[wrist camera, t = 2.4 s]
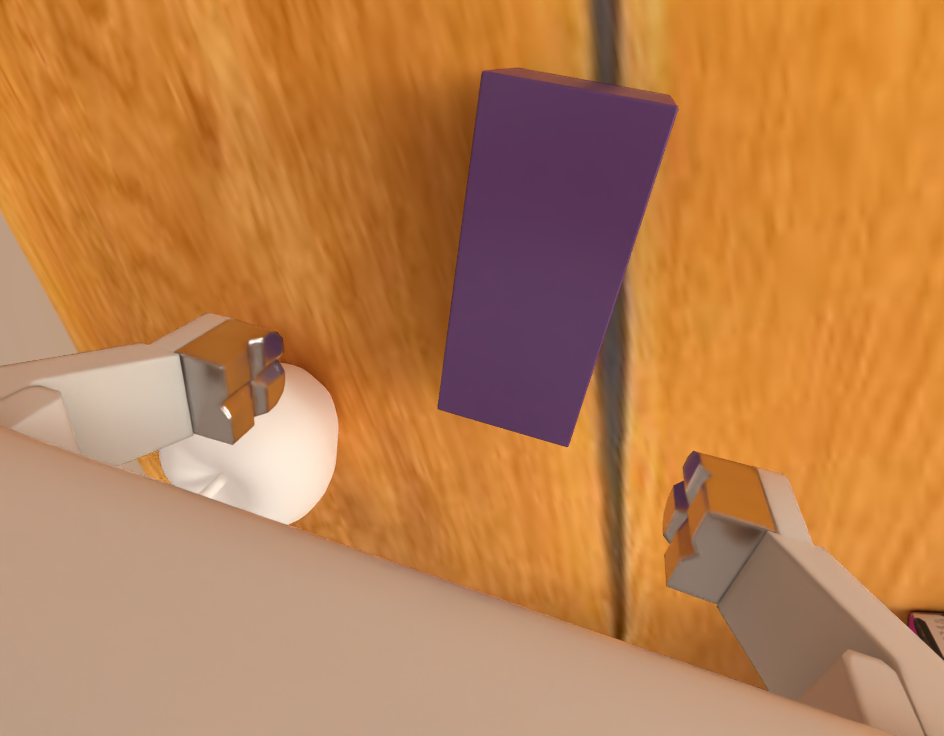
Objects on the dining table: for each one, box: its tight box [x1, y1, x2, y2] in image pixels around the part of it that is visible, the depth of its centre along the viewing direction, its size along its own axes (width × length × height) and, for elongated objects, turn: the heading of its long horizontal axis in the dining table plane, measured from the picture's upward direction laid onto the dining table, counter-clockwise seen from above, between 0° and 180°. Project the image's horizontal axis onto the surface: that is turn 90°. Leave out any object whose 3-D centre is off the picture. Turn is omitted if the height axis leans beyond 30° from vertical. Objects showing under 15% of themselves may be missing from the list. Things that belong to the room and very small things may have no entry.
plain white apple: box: [159, 363, 339, 525], centre depth 21 cm, size 7×7×8 cm
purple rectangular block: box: [438, 68, 678, 447], centre depth 16 cm, size 10×4×4 cm, turn 172°
